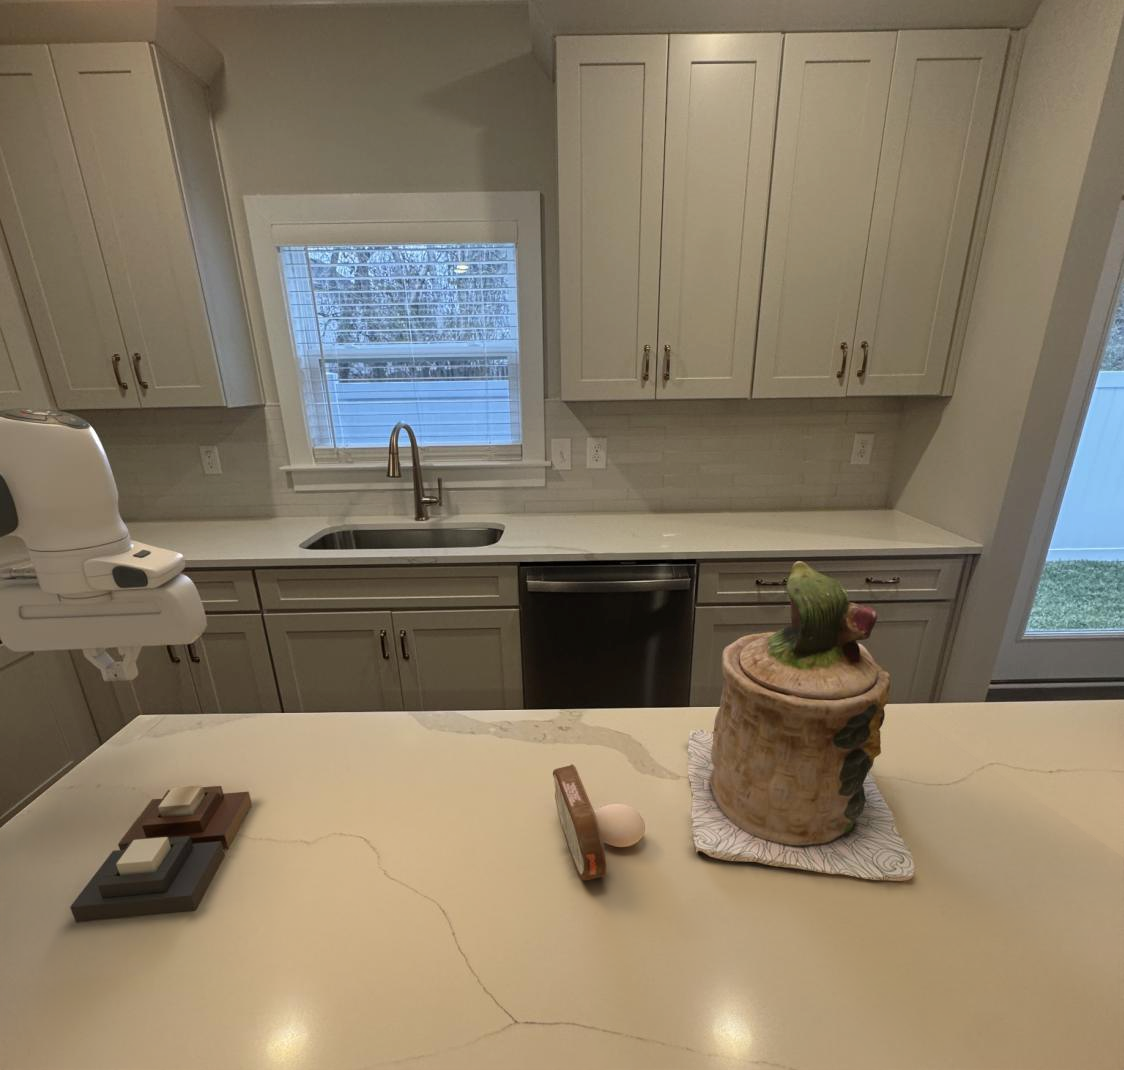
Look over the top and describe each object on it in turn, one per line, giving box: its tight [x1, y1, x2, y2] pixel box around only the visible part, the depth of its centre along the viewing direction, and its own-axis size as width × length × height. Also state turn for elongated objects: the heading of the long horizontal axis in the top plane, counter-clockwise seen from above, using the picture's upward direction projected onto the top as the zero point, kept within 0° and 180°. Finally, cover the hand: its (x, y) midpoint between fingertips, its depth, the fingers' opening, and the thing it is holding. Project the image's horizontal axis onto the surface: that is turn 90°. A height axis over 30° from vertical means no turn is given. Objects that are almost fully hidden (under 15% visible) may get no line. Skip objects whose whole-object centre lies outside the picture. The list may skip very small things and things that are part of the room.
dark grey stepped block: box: [69, 836, 226, 923], centre depth 68 cm, size 12×8×4 cm, turn 96°
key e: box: [158, 785, 205, 817], centre depth 75 cm, size 4×4×2 cm
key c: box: [116, 837, 171, 876], centre depth 67 cm, size 4×4×2 cm
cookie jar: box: [686, 560, 916, 882], centre depth 74 cm, size 25×25×32 cm
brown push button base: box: [117, 785, 253, 850], centre depth 76 cm, size 12×8×4 cm, turn 96°
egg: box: [594, 803, 646, 848], centre depth 74 cm, size 5×5×7 cm
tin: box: [552, 763, 607, 881], centre depth 72 cm, size 15×3×8 cm, turn 13°
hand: (122, 678), depth 72 cm, fingers closed
